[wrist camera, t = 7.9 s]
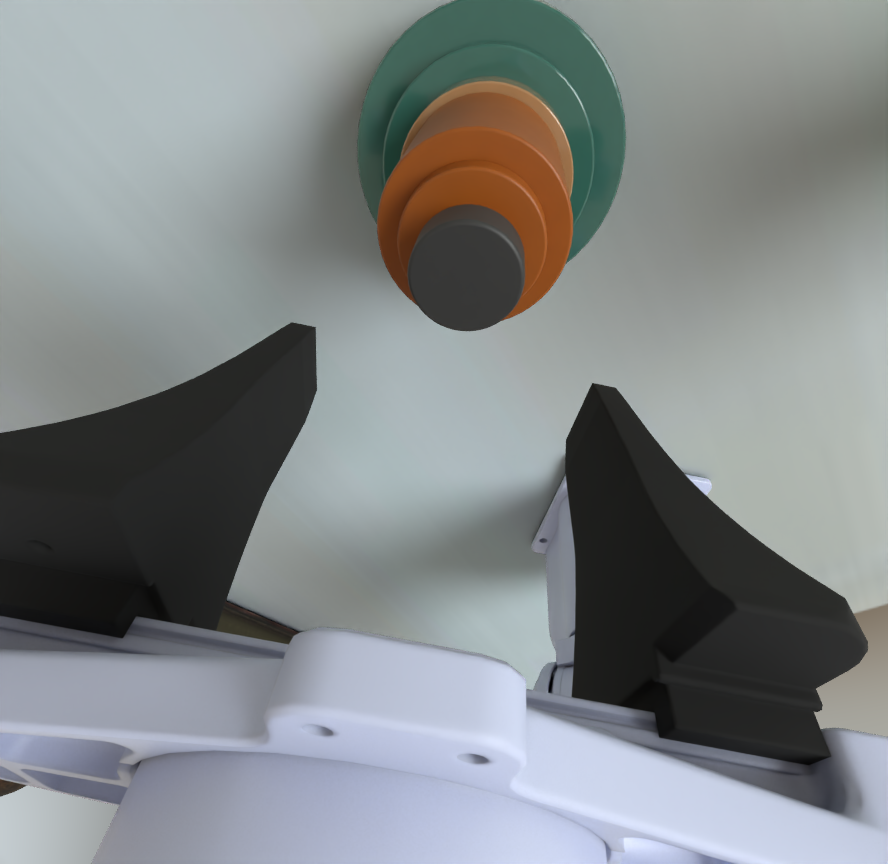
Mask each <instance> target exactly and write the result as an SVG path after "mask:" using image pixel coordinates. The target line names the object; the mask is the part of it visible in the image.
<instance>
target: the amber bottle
mask: <svg viewBox="0 0 888 864" xmlns="http://www.w3.org/2000/svg"><path fill="white" fill-rule="evenodd" d="M377 234H378V241H379V246H380V250H381V254H382V257H383V260H384V262H385V265H386V267H387V269H388V271H389V273H390V275H391V277H392V278H393V280H394V281H395V283H396V284H397V285H398V287H399V288H400V289H401V290H402V292H403V293H404V294H405V295H406V296H407V297H408V298H409V299H410V300H412V301H413V302H414V303H415V304H416V305H418V306H419V308H420V309H421V310H422V311H423V312H424V314H425V315H427V316H428V317H429V318H430V319H432V320H433V321H434V322H436V323H438V324H440V325H442V326H444V327H447V328H450V329H453V330H459V331H476V330H481V329H485V328H488V327H490V326H493V325H495V324H497V323H498V322H500V321H502V320H505V319H508V318H511V317H513V316H515V315H517V314H520V313H522V312H523V311H525V310H526V309H528V308H530V307H531V306H532V305H534V304H535V303H536V302H537V301H539V300H540V299H541V298H542V297H543V296H544V295H545V294H546V293H547V292H548V291H549V290H550V288H551V287H552V286H553V284H554V283H555V282H556V280H557V279H558V277H559V275H560V274H561V272H562V270H563V268H564V266H565V263H566V261H567V258H568V255H569V252H570V248H571V243H572V236H573V214H572V207H571V201H570V197H569V193H568V188H567V184H566V179H565V175H564V170H563V166H562V161H561V157H560V153H559V150H558V146H557V143H556V141H555V139H554V136H553V134H552V133H551V131H550V129H549V128H548V126H547V124H546V123H545V122H544V121H543V119H542V118H541V117H540V116H539V115H538V114H537V113H536V112H535V111H534V110H533V109H532V108H530V107H529V106H527V105H526V104H524V103H523V102H521V101H519V100H517V99H515V98H513V97H510V96H507V95H503V94H499V93H491V92H481V93H473V94H468V95H464V96H462V97H459V98H456V99H454V100H452V101H450V102H448V103H446V104H445V105H444V106H442V107H441V108H439V109H438V110H437V111H436V112H435V113H434V114H433V115H432V116H430V117H429V118H428V120H427V121H426V122H425V123H424V125H423V126H422V127H421V129H420V130H419V132H418V133H417V135H416V136H415V138H414V139H413V141H412V142H411V144H410V145H409V147H408V148H407V150H406V151H405V153H404V154H403V156H402V157H401V159H400V161H399V162H398V164H397V165H396V167H395V168H394V170H393V171H392V173H391V175H390V177H389V178H388V180H387V182H386V185H385V187H384V190H383V192H382V195H381V199H380V203H379V208H378V216H377Z"/></svg>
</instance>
